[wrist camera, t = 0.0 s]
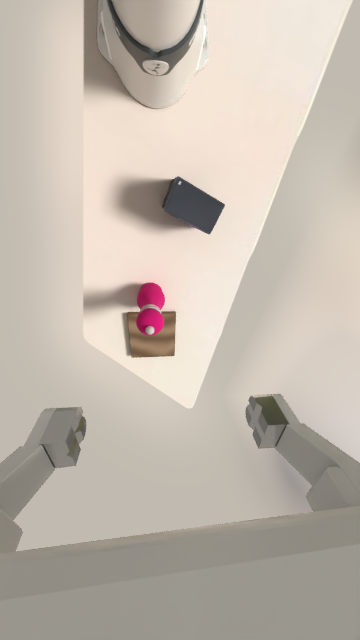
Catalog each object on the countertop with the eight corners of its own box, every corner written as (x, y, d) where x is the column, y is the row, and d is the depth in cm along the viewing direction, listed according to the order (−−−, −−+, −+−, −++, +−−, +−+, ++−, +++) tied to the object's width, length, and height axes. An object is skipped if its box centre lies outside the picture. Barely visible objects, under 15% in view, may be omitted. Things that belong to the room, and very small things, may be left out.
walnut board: (127, 312, 60) (127, 314, 59) (175, 311, 62) (175, 313, 61) (132, 354, 69) (131, 357, 67) (174, 352, 70) (174, 355, 69)
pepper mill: (133, 297, 58) (125, 338, 41) (146, 276, 56) (142, 310, 38) (156, 308, 61) (156, 351, 44) (168, 288, 58) (174, 326, 41)
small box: (160, 208, 48) (162, 211, 39) (172, 178, 45) (176, 173, 36) (200, 229, 51) (209, 236, 42) (213, 202, 48) (226, 203, 39)
